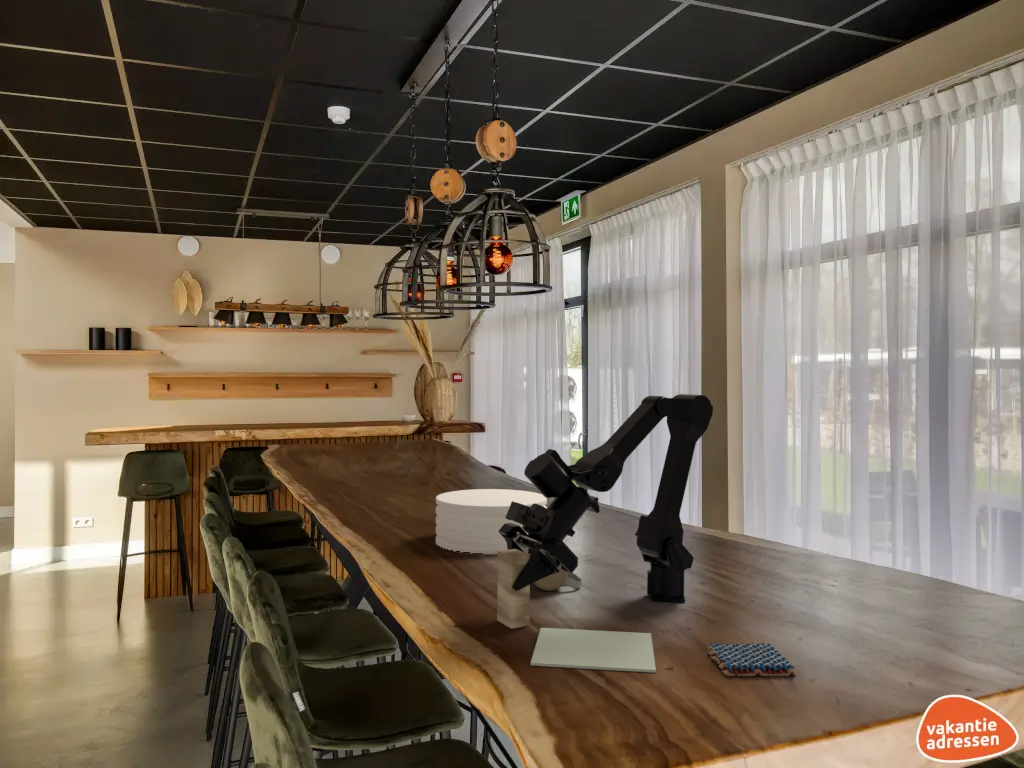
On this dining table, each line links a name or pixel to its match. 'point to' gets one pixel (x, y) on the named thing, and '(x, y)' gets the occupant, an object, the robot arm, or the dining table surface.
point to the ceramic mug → (559, 581)
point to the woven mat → (750, 660)
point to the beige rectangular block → (512, 590)
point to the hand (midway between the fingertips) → (506, 585)
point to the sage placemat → (594, 650)
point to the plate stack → (478, 518)
